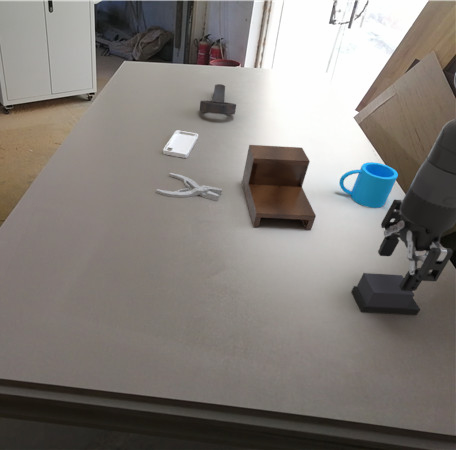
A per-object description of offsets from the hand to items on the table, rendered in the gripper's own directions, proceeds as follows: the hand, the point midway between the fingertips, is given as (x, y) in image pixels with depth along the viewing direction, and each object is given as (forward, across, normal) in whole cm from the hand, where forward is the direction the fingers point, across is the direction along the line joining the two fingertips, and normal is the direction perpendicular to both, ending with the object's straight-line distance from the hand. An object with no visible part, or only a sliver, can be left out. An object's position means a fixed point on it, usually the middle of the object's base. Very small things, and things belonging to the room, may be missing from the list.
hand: (394, 271), depth 69 cm
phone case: (+8, +60, +35) cm, 70 cm away
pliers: (+8, +35, +33) cm, 49 cm away
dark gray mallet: (+8, +93, +21) cm, 96 cm away
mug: (+8, +36, -10) cm, 38 cm away
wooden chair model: (+8, +30, +13) cm, 34 cm away
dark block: (+8, 0, -1) cm, 8 cm away
